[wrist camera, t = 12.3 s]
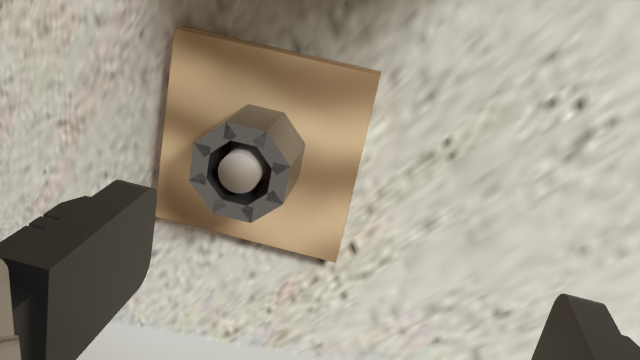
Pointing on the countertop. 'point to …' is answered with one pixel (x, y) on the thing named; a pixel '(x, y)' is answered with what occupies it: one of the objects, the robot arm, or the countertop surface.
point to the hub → (274, 144)
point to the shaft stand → (246, 160)
